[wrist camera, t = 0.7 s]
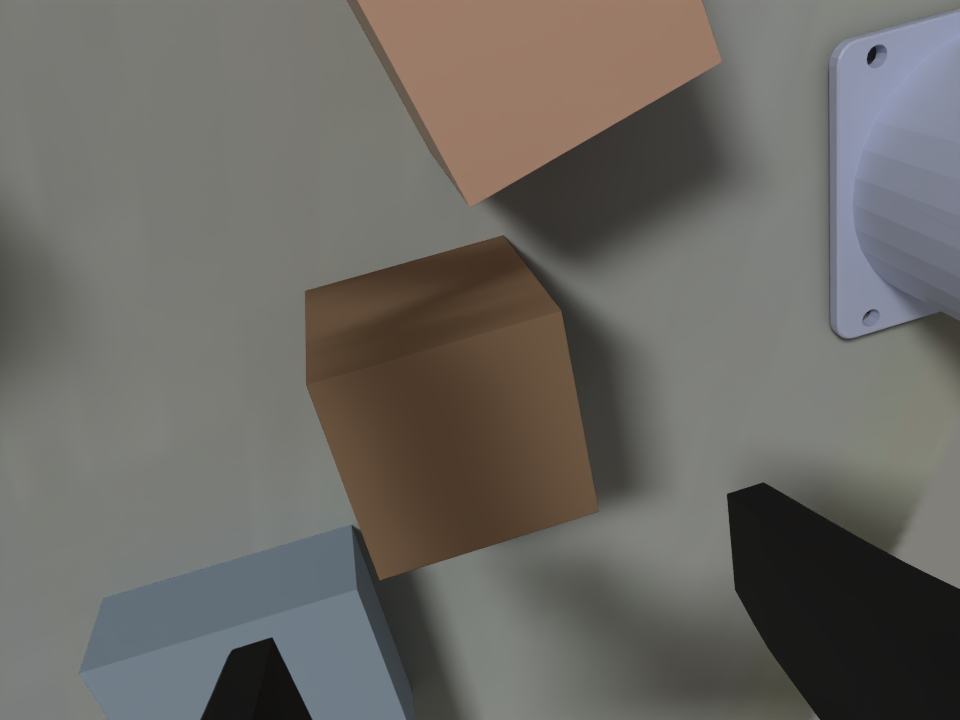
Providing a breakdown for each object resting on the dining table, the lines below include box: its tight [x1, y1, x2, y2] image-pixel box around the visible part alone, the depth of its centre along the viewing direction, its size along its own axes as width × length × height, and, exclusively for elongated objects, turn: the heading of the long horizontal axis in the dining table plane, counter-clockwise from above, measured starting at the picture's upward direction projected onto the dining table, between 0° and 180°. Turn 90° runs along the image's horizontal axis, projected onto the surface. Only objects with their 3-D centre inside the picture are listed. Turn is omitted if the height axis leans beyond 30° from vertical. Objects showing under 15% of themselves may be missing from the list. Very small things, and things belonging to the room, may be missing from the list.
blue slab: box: [79, 525, 416, 720], centre depth 23 cm, size 7×7×3 cm
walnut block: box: [305, 235, 599, 580], centre depth 18 cm, size 5×5×5 cm
